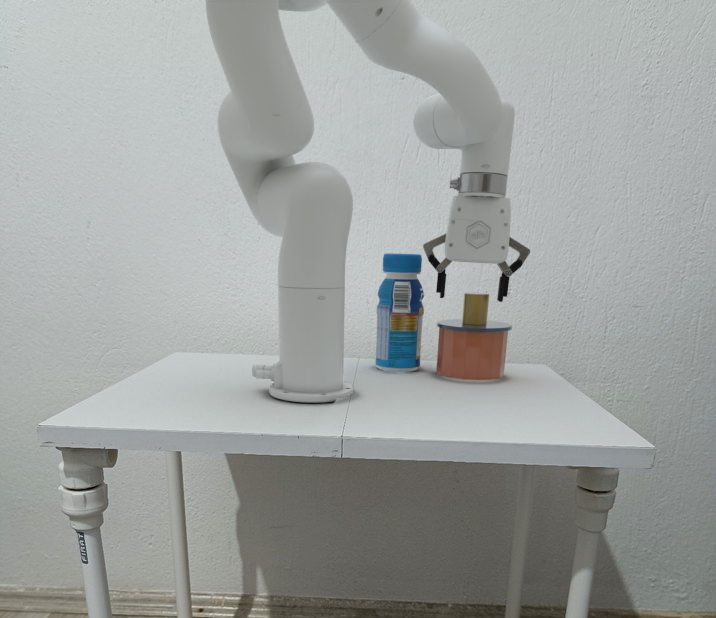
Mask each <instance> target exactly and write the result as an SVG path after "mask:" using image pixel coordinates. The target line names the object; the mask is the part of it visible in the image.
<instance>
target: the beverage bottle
mask: <svg viewBox="0 0 716 618" xmlns="http://www.w3.org/2000/svg"><path fill="white" fill-rule="evenodd" d="M422 256H423V255H422V254H419V253H393V252H392V253H383V257H382V272H383V274H386V275H385V277H384V279H383V280H382V282H381V283H380V286H379V287H378V290H377V297H378V300H379V301H378V304H377V305H376V310H375V311H376V343H375V344H376V345H375V346H376V347H375V348H376V350H375V367H376V368H377V369H378V370H380V371H384V372H385V371H386V372H403V373H408V372H409V373H410V372H416V371H417V370H419V369H420V368H421V349H422V348H421V347H422V332H423V319H424V318H423V317H424V314H425V308H424V304H423V299H424V297H425V292H424V288H423V286H422V284H421V281H420V279H419V277H418V275H421V273H422V266H423V265H422V263H423V257H422Z"/></svg>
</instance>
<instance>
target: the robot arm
mask: <svg viewBox="0 0 716 618" xmlns="http://www.w3.org/2000/svg"><path fill="white" fill-rule="evenodd" d="M324 6H328V7H329V9H331V11H332V12H333V13H334V14H335V16H336V17H337V19H338V20H339V21H340V23H341V24H342V25H343V27H344V28H345V29H346V31H347V32H348V33H349V35H350V36H351V38H352V39H353V40H354V41H355V43H356V44H357V45H358V47H359V49H361V51H362V53H363V54H364V55H365V56H366V58H367V59H368V60H369V61H370V62H372V63H374V64H375V65H377V66H380V67H383V68H385V69H387V70H391V71H395V72H399V73H403V74H407V75H410V76H413V77H415V78H417V79H419V80H421V81H422V82H425V83H426V84H427V85H429V86H430V87H432V88H433V89H434V90H436V92H437V93H435V94H432V95H430V96H427V97H426V98H424V99H423V100H422V101H421V102H420V103H419V105H418V106H417V108H416V109H415V112H414V114H413V122H412V123H413V129H414V133H415V135H416V137H417V138H418V140H419V141H420V142H421V144H423V145H425V146H426V147H428V148H431V149H435V150H460V151H461V159H460V169H459V177H458V176H457V178H453V179H450V181H449V189H453V190H456V192H457V195H454V196H453V197H452V200H451V204H450V207H449V212H448V218H447V223H446V224H447V225H446V232H445V233H444V234H442V235H439V236H437V237H436V238H433V239H431V240H429V241H427V242H425V243H423V245H422V248H423V251H424V253H425V256H426V258H427V261H428V262H429V264H430V265H431V266H432V267H433V268H434V270H435V271H436V272H437V278H436V290H435V293H438V294H439V299H444V298H445V294H446V293H445V292H446V281H447V273H446V269H447V267H448V266H449V265H451V263H453V262H459V263H474V264H491V265H493V264H496V265H497V267H498V269H499V270H500V271H501V275H500V276H499V281H498V289H497V298H496V300H497V302H500V303H503V302H504V298H507V297H508V293H509V284H510V279H511V278H510V277H511V276H512V275H513V274H514V273H516V272H517V271H518V270H519V269H520V268H521V267H522V266H523V265H524V263H525V261H526V260H527V258H528V257H529V255H530V254H531V250H530V248H528V247H527V246H526V245H523V244H522V243H521V242H519V241H517V240H516V239H514V238H512V237H511V222H512V221H511V220H512V217H511V216H512V212H511V211H512V209H511V207H512V206H511V205H512V204H511V198H509V197H506V195H507V188H508V187H507V186H508V178H509V177H508V176H509V169H510V161H511V151H512V142H513V135H514V125H515V115H516V114H515V112H516V110H515V107H514V105H513V104H512V103H511V102H510V101H509V100H506V99H502V98H501V97H500V94H499V91H498V89H497V86H496V84H495V83H494V81H493V79H492V77H491V76H490V74H489V72H488V71H487V69H486V68H485V66H484V65H483V63H482V62H481V60H480V58H479V57H478V56H477V54H476V53H475V52H474V51H473V49H471V47H470V46H468V44H466V43H465V41H462V39H460V38H459V37H458V36H456V35H455V34H453V33H452V32H450V31H449V30H447V28H445V27H443V26H441V24H439V23H437V22H436V21H434V20H432V19H431V18H429V17H427V16H426V15H424V14H423V13H421V12H420V11H419V10H418V9H417V8H416V7H415V5H414V4H413V2H412V1H411V0H205V10H206V18H207V25H208V29H209V33H210V38H211V40H212V44H213V47H214V49H215V52H216V55H217V57H218V61H219V62H220V63H219V64H220V66H221V68H222V71H223V74H224V76H225V79H226V82H227V85H228V86H229V89H230V92H228V93H227V94H226V95H225V97H224V98H223V100H222V101H221V103H220V106H219V109H218V111H217V112H218V113H217V132H218V138H219V141H220V145H221V147H222V150H223V153H224V156H225V157H226V160H227V161H228V164H229V167H230V169H231V170H232V172H233V175H234V177H235V180H236V182H237V184H238V186H239V188H240V190H241V193H242V195H243V197H244V200H245V201H246V204H247V206H248V208H249V210H250V212H251V214H252V215H253V217H254V219H255V220H256V223H258V224H259V226H260V227H261V228H262V229H263V230H264V231H266V232H267V233H269V234H271V235H273V236H275V237H280V238H281V243H280V248H279V255H278V261H277V296H278V297H277V302H278V303H277V304H278V306H277V307H278V362H276V363H273V364H272V365H266V364H255V363H254V364H252V367H251V375H252V377H253V378H255V379H257V380H270V381H272V382H273V383H271V384H270V385H269V386H268V393H269V395H270V396H271V397H273V398H275V399H277V400H283V401H287V402H296V403H312V404H313V403H314V404H315V403H332V402H335V401H337V400H338V399H342V398H346V397H350V396H351V395H352V394H354V386H353V385H351V384H350V383H348V382H345V381H344V360H345V359H344V357H345V305H346V304H345V303H346V301H345V300H346V299H345V298H346V261H347V260H346V258H347V250H348V249H347V248H348V247H347V246H348V242H349V241H348V240H349V236H350V235H349V234H350V229H351V224H352V220H353V219H352V218H353V210H354V200H353V193H352V189H351V185H350V184H349V181H348V180H347V179H346V177H345V175H344V174H342V172H341V171H340V170H338V169H337V168H336V167H335V166H332V165H331V164H328V163H325V162H319V161H307V162H306V161H305V162H301V163H296V160H295V159H294V156H293V155H297V154H299V153H300V152H302V151H303V150H304V149H305V148H306V147H307V146H308V145H309V144H310V142H311V140H312V138H313V136H314V132H315V131H314V130H315V120H314V114H313V110H312V108H311V105H310V102H309V99H308V96H307V93H306V91H305V88H304V86H303V83H302V80H301V78H300V75H299V72H298V69H297V67H296V64H295V62H294V58H293V56H292V54H291V51H290V48H289V45H288V43H287V40H286V36H285V32H284V30H283V26H282V22H281V18H280V17H281V16H280V11H285V12H297V13H298V12H299V13H300V12H301V13H302V12H303V13H304V12H307V13H308V12H313V11H317V10H319V9H321V8H322V7H324ZM442 244H444V257H445V258H444V259H442V260H441V262H440V260H439V259H438V258H437V257H436V256H435V253H434V248H437V247H438V246H440V245H442ZM509 248H510V249H512V250H514V251H515V252H517V253H518V256H517V258H516V259H515V261H513V262H512V263H511V264H510V265H509V264H508V263H507V259H508V255H509Z"/></svg>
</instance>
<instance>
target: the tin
mask: <svg viewBox="0 0 716 618" xmlns="http://www.w3.org/2000/svg"><path fill="white" fill-rule="evenodd" d="M508 336H509V331H502V332H470V331H457V330H449V329H444V328H440V327H438V342H437V357H436V372H435V373H436V374H437V375H439V376H442V377H447V378H450V379H457V380H469V381H470V380H471V381H488V380H489V381H491V380H496V379H501V378H503V377H504V376H505V365H506V356H507V347H508V338H509V337H508Z"/></svg>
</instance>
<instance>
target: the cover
mask: <svg viewBox="0 0 716 618" xmlns="http://www.w3.org/2000/svg"><path fill="white" fill-rule="evenodd" d="M489 302H490V293H487V292H464V293H463V305H462V316H461V319H460V318H459V319H456V318H455V319H442V320H438V321H437V322H436V327H437V328H439V327H440V328H444V329H449V330H457V331H470V332H502V331H508V332H509V331H512V330H513V324H511V323H508V322H503V321H495V320H488V313H489Z"/></svg>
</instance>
